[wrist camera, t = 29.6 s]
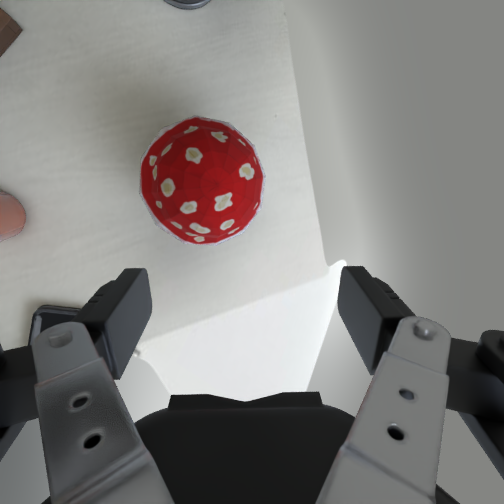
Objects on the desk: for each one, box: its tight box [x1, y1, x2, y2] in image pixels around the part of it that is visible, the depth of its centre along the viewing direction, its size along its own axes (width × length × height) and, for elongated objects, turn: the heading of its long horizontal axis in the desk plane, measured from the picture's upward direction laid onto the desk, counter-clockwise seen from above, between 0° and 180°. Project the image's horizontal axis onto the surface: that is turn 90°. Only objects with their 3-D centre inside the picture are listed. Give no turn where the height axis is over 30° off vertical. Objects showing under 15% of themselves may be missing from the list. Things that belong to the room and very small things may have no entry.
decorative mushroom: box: [139, 116, 265, 246], centre depth 33 cm, size 14×14×15 cm
